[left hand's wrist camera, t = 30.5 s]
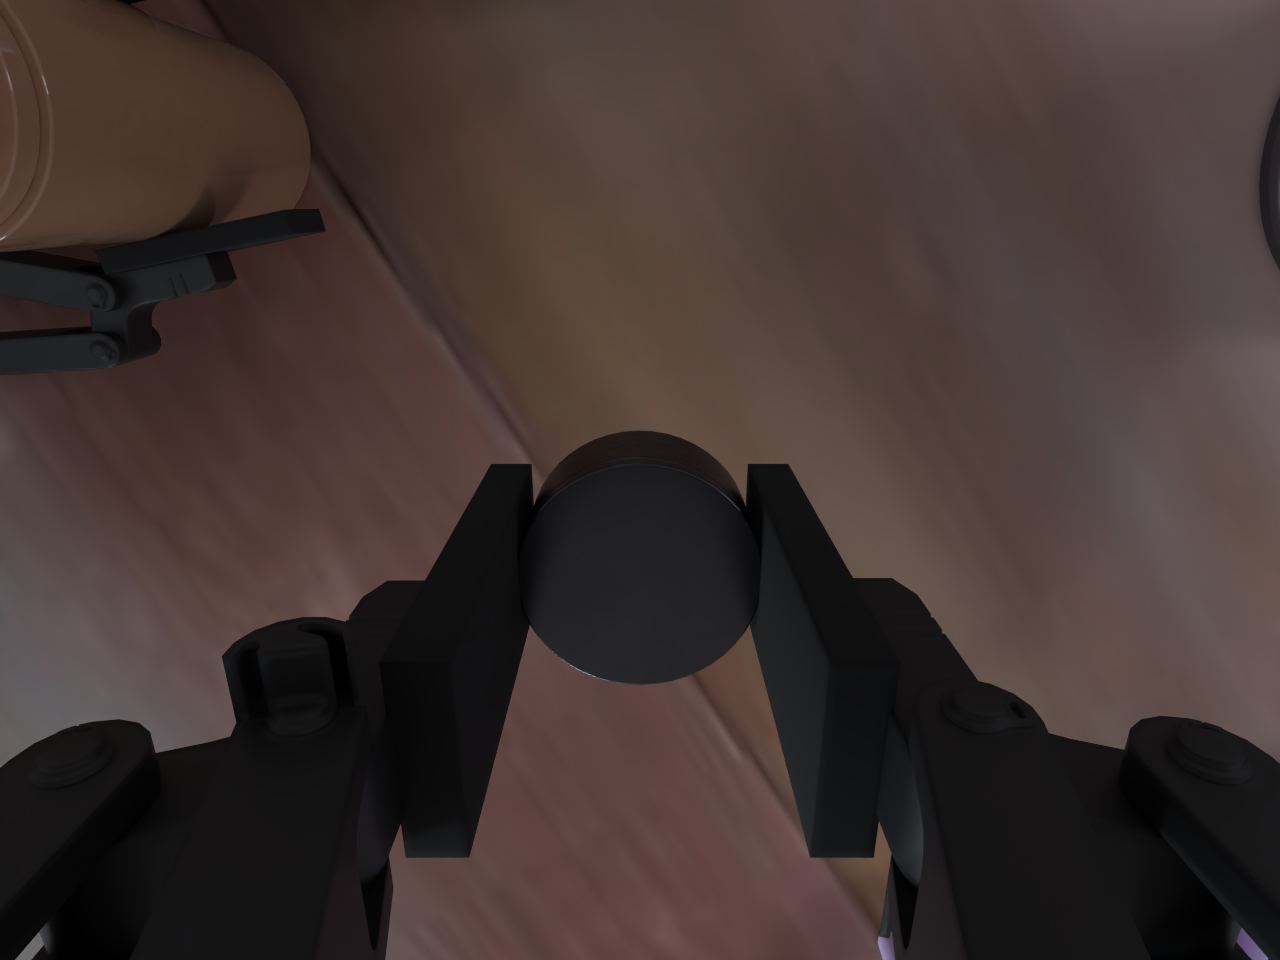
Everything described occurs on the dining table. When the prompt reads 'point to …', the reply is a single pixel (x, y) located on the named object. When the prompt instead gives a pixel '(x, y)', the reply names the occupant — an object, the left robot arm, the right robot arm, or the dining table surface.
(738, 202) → the dining table surface
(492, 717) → the left robot arm
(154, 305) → the right robot arm
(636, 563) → the cap
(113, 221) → the bottle
